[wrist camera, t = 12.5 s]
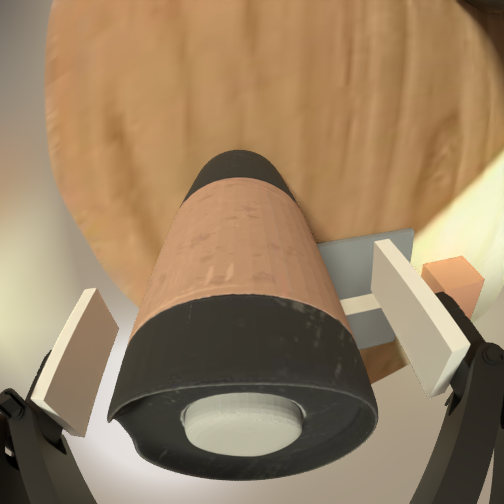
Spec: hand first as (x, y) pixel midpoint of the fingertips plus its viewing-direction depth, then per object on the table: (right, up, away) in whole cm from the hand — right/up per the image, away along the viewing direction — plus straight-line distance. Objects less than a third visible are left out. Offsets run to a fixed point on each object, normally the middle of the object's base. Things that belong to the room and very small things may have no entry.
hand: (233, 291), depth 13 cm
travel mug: (0, +7, +11) cm, 13 cm away
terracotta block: (+23, -2, +17) cm, 29 cm away
